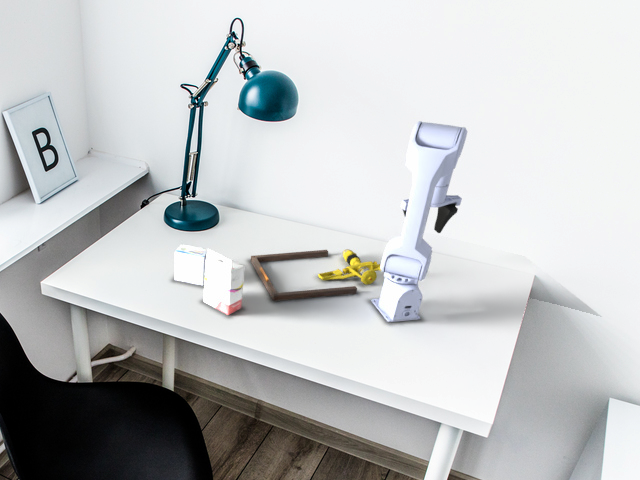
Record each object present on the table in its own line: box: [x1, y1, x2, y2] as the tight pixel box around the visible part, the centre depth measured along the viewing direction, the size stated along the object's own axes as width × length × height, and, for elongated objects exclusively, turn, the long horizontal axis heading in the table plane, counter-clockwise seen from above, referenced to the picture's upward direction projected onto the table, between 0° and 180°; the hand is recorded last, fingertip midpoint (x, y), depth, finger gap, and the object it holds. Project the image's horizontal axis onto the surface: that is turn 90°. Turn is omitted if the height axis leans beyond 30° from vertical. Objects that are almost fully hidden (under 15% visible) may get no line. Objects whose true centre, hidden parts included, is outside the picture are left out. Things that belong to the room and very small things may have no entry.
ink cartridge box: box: [203, 248, 245, 316], centre depth 154 cm, size 9×5×15 cm, turn 40°
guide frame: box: [250, 249, 358, 302], centre depth 168 cm, size 20×21×2 cm
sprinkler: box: [317, 248, 382, 286], centre depth 169 cm, size 19×4×15 cm
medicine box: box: [174, 243, 209, 287], centre depth 166 cm, size 8×4×9 cm, turn 65°
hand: (423, 232), depth 166 cm, fingers open, 7 cm apart
